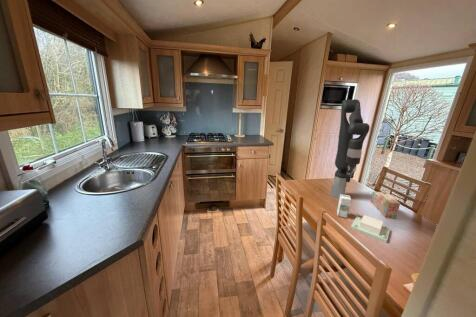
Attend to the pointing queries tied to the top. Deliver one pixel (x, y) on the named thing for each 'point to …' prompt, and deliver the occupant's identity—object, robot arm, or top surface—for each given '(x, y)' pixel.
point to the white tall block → (343, 206)
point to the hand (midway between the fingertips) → (349, 179)
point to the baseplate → (380, 237)
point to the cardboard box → (385, 204)
